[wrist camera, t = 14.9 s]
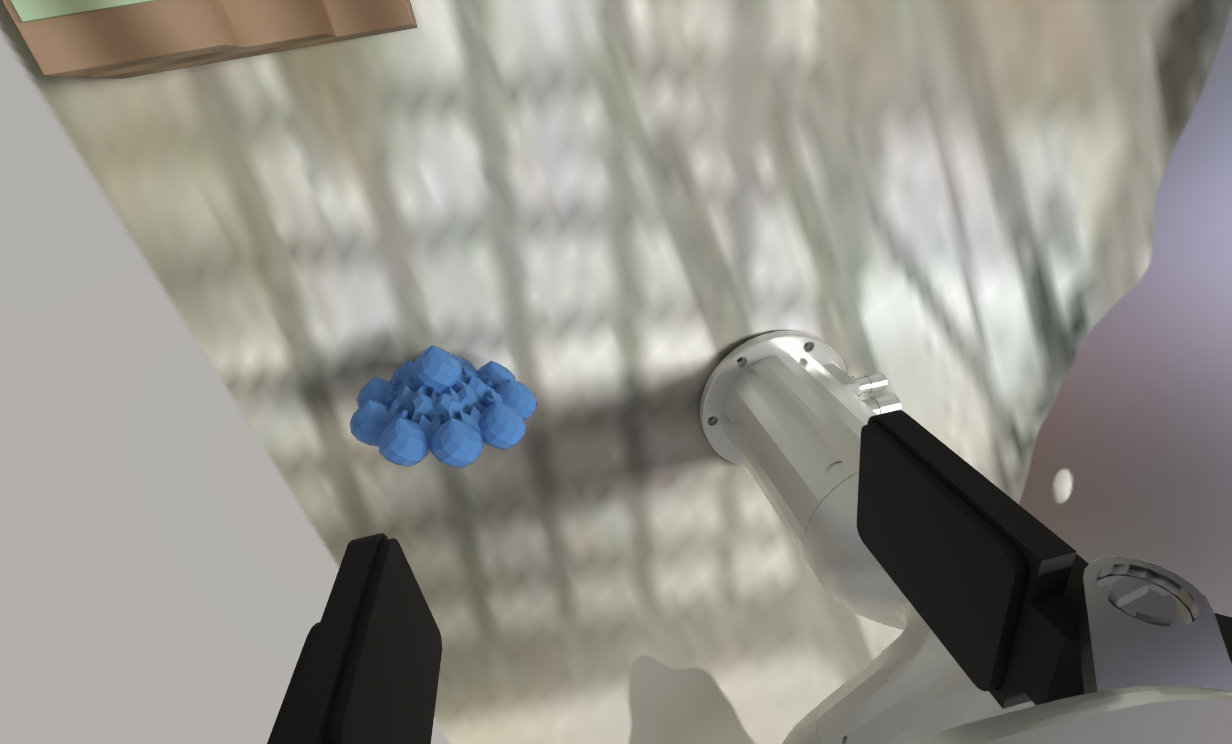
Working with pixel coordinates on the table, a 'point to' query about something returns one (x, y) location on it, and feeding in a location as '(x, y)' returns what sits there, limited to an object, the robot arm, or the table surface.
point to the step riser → (188, 30)
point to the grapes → (442, 410)
